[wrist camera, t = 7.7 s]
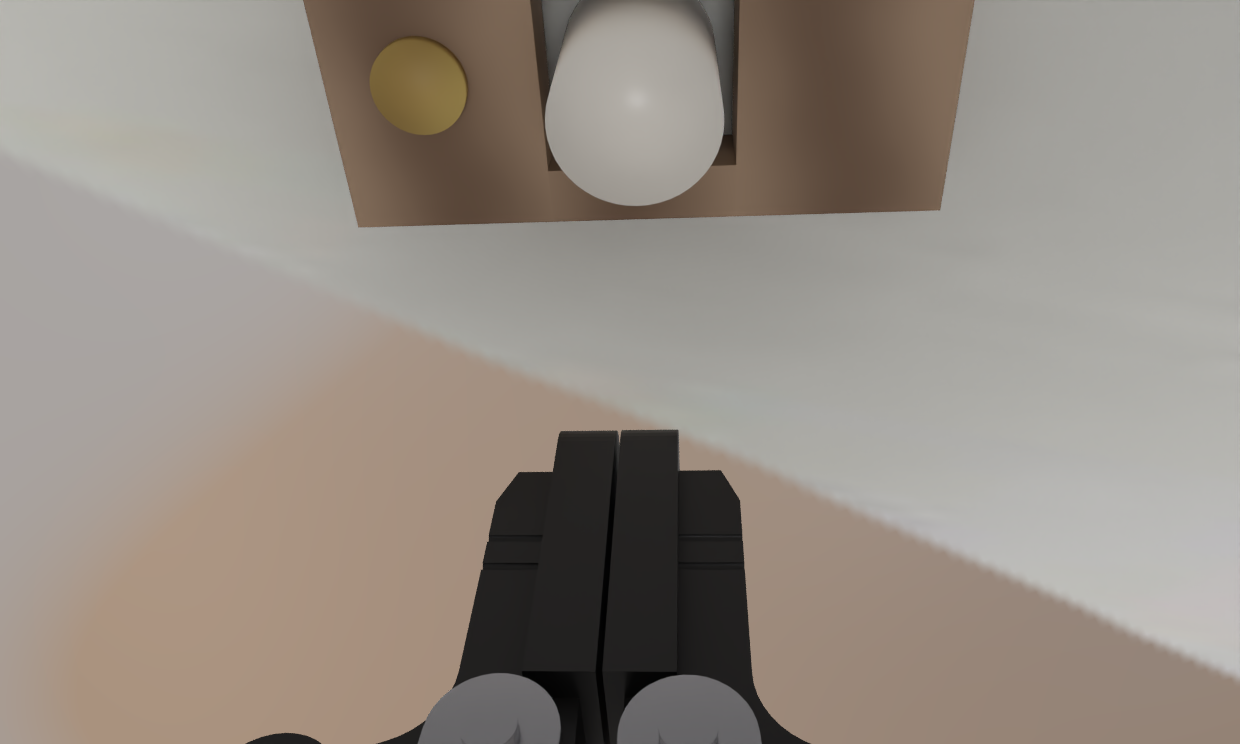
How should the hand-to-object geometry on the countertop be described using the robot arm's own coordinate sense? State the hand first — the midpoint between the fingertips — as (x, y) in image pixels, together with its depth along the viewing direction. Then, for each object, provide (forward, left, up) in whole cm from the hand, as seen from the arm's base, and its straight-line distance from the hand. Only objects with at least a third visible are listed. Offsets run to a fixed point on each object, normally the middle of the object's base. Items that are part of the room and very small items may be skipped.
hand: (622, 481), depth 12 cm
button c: (0, 0, -16) cm, 16 cm away
